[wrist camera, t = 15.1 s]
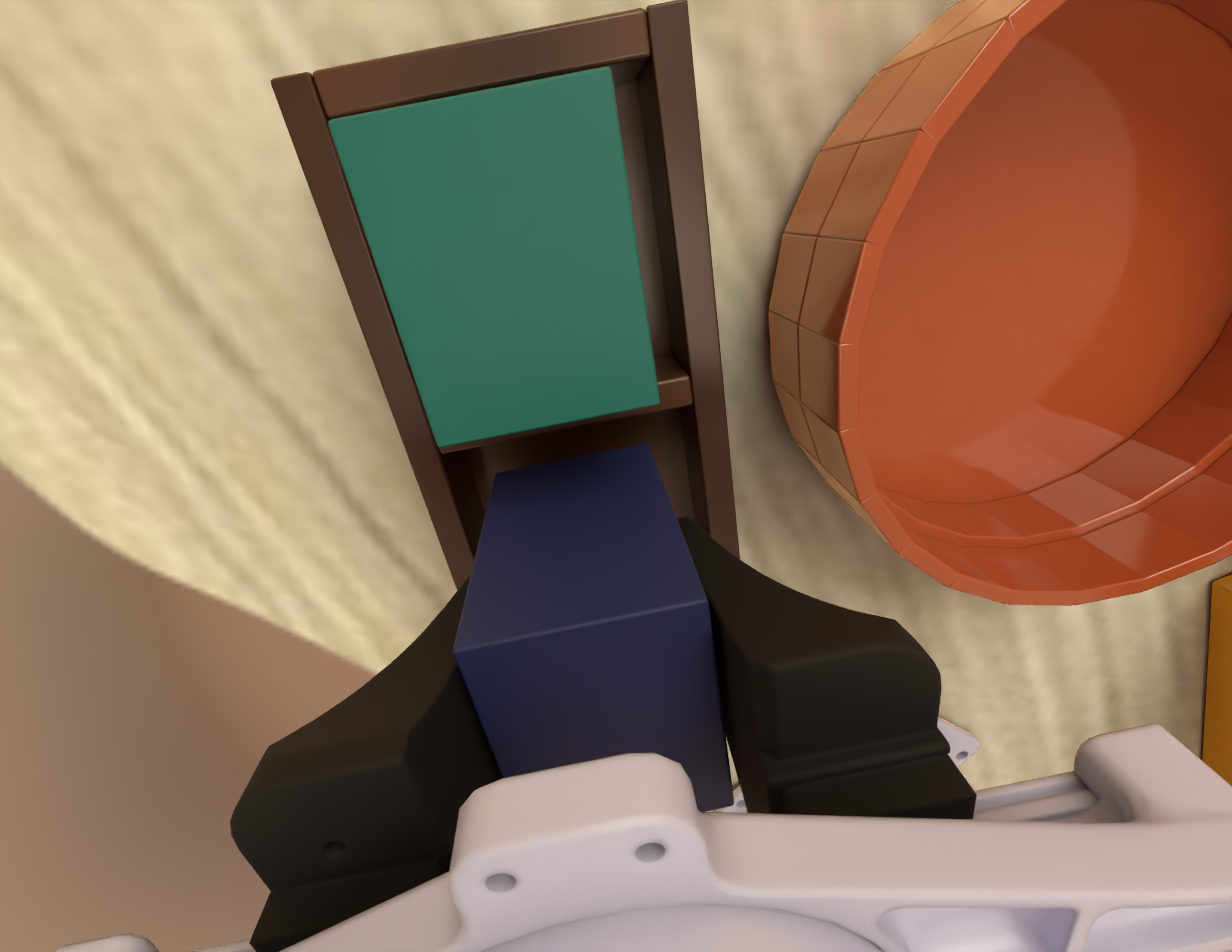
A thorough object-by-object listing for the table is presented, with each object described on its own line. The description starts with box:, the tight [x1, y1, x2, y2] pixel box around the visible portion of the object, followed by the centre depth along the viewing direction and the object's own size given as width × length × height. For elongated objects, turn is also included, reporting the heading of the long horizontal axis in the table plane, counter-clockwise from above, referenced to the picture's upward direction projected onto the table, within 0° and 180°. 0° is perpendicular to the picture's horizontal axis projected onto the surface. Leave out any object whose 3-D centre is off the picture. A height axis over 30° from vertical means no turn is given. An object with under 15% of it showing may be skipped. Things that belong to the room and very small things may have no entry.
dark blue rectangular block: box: [453, 443, 734, 812], centre depth 13 cm, size 4×5×6 cm
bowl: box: [769, 0, 1232, 606], centre depth 15 cm, size 15×15×5 cm
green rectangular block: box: [328, 66, 660, 448], centre depth 12 cm, size 4×5×6 cm
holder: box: [271, 0, 740, 591], centre depth 16 cm, size 8×15×3 cm, turn 10°
